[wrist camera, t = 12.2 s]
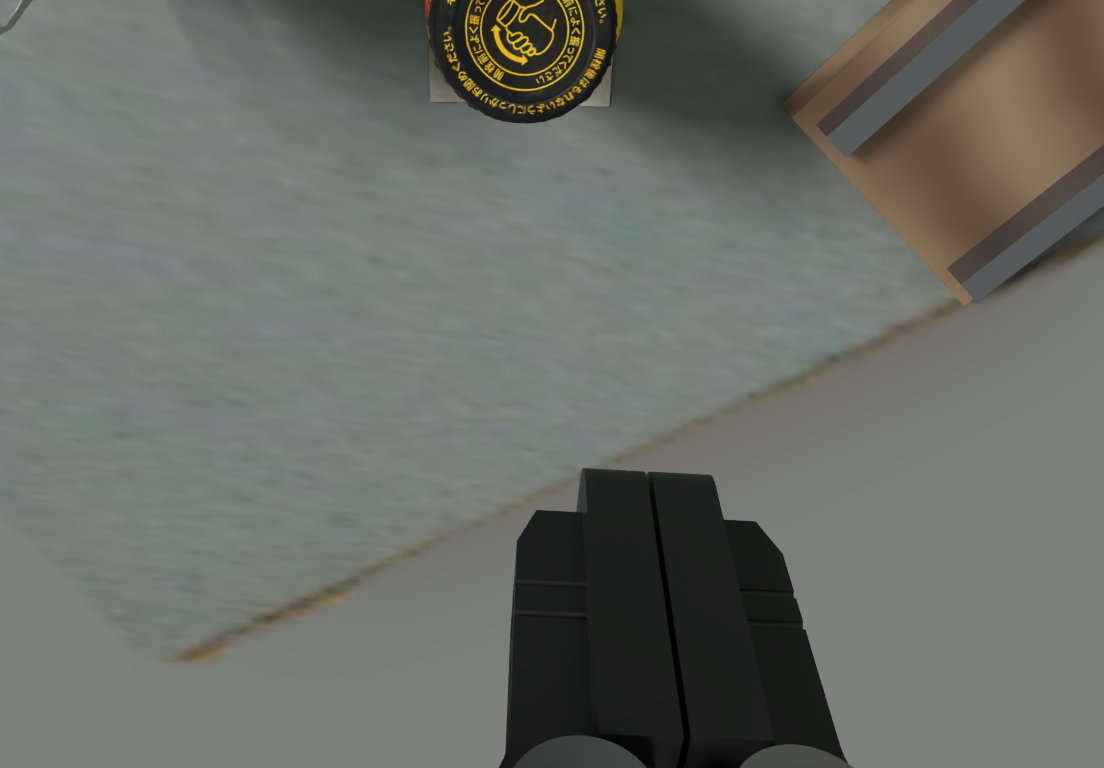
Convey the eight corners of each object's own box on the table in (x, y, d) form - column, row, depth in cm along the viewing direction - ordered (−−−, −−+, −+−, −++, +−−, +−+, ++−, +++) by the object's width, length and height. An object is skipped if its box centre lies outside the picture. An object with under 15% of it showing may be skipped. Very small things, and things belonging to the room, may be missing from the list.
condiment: (624, -129, 34) (660, -101, 24) (609, 105, 39) (633, 214, 28) (423, -137, 34) (372, -112, 24) (430, 99, 38) (391, 207, 28)
